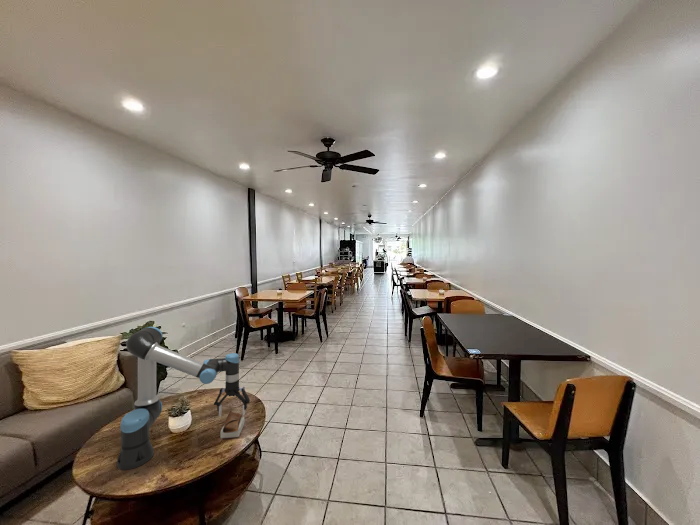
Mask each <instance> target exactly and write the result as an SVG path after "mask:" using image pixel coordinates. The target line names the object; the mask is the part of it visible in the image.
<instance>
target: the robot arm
mask: <svg viewBox="0 0 700 525" xmlns="http://www.w3.org/2000/svg"><path fill="white" fill-rule="evenodd" d="M162 340H163V333H162V331H161V329H160V328H158V327H155V326H146V327H143V328H141V329H140V330H138V331H136V332H133V333H132V334H131V335H130V336H129V337H128V338H127V340H126V343H125V347H126V350H127V351H128V352H129V353H130V354H131V355H132V356H135V358H137V400H135V401H134V402H133V403H134V404H133V409H132V410H131V411H130V412H129V411H128V412H127V413H126V414H125V415H124V416H123V417H122V418H121V421H120V426H119V428H120V445H121V446H120V452H119V454H118V457H117V459H116V467H117V469H118V470H124V471H127V470H131V469H135V468H137V467H140V466H142V465H144V464H146V463H148V462H149V461H150V460H151V459H152V457H154V452H155V451H154V447H153V445H152V442H151V440H150V428H151V427H152V425H153V424H154V423H155V422H156V420H157V419H158V418H159V416H160V415H161V413H162V411H163V403H162V401H161V400H160V396H159V395H157V363H158V364H161V365H163V366H166V367H169V368H171V369H173V370H177V371H180V372H182V373H185V374H188V375H190V376H192V377H195V378H198V379H199V381H200V383H201V384H204V385H208V384H211V383H212V382H213V381H214V380H216V377H217V375H218V373H220V372H223V373H224V372H225V378H224V379H225V380H224V381H225V388H223V387H221V388H220V389H219V393H218V395H217V397H216V399H215V401H214V402H213V406H216V408H217V410H216V411H217V412H218V418H221V417H222V415H223V414H222V412H223V410H222V409H223V408H222V407H223V405H222V403H223V401H224V400H225V399H226V398H227V397H237V398H238V399H239V401H240V402H242V417H245V415H246V410H247V408H248V404H250V402H251V399H250V397H249V395H248V394H247V391H246V390H245V386H243V387H240V380H239V379H240V355H239V353H236V352H235V353H234V352H233V353H232V352H231V353H228V354H226V355H225V357H221V358H220V357H219V358H210V359H209V358H207V359H205V360H204V361H203V362H201V361H199V360H196V359H195V358H191V357H189V356H186V355H183V354H182V353H179V352H176V351H174V350H171V349H169V348H166V347H163V346H161V344H160V343H161V342H162ZM240 392H241V393H240ZM223 393H225V394H224V395H223V397H222V398H221V396H222V394H223ZM220 398H221V399H220Z"/></svg>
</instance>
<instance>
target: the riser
mask: <svg viewBox="0 0 700 525" xmlns="http://www.w3.org/2000/svg"><path fill="white" fill-rule="evenodd" d="M245 418H246V417H245V416H242V417H241V419H240V423H239V427H238V431H236V432H231V433H224V432H223V428H224V425H225V423H224V424H223V426H222V428H221V429H220V439H229V438H230V439H231V438H239V437H240V435H241V433H242V430H243V427H244V425H245V422H246V421H245Z"/></svg>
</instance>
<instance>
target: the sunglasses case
mask: <svg viewBox="0 0 700 525" xmlns="http://www.w3.org/2000/svg"><path fill="white" fill-rule="evenodd" d="M241 417H243V413H241V414H240V413H237V412H233V411H231V410H229V412H228V415H227V417H226V420H225V422H224V424H225V425H224V424H223V426H224V428H223V427H222V428H223V432H224V433H231V432H236V431H238V427H239V423H240V419H241Z"/></svg>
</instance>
